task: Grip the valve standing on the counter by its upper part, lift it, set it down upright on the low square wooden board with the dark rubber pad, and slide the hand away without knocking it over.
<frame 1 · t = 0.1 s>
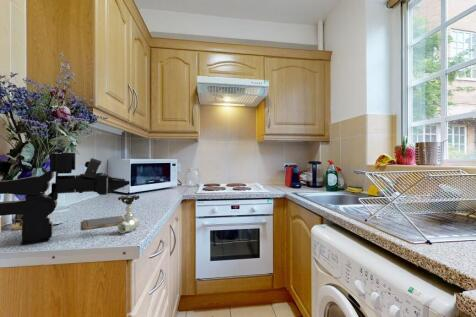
hand: (127, 181, 87), 17 cm above the countertop, tool horizontal, fingers open, 9 cm apart
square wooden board: (104, 222, 93), on the countertop
valve: (129, 232, 81), on the countertop
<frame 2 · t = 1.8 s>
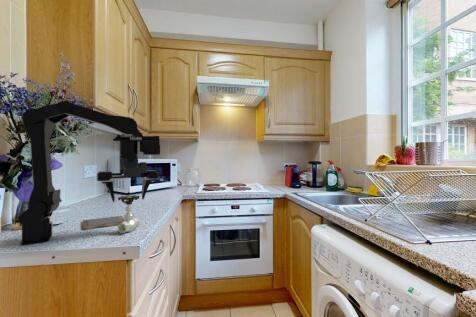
hand: (128, 200, 82), 11 cm above the countertop, tool pointing down, fingers open, 9 cm apart
nothing on the countertop moved.
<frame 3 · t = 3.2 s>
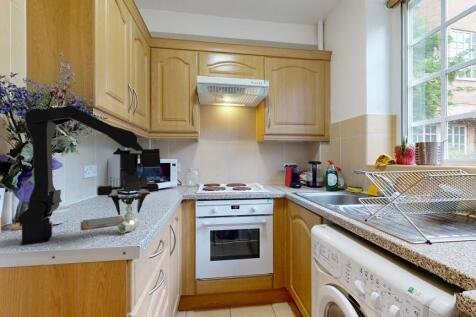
hand: (128, 213, 82), 6 cm above the countertop, tool pointing down, fingers closed on valve, 6 cm apart
valve: (129, 232, 81), on the countertop, touching gripper
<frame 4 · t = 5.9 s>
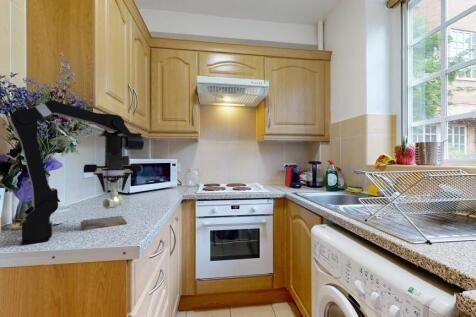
hand: (113, 191, 89), 13 cm above the countertop, tool pointing down, fingers closed on valve, 6 cm apart
valve: (113, 208, 88), point 7 cm above the countertop, touching gripper
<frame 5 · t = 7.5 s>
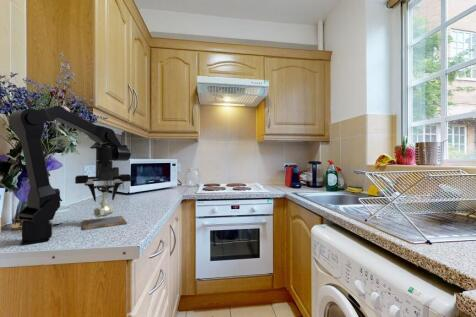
hand: (104, 200, 93), 9 cm above the countertop, tool pointing down, fingers closed on valve, 6 cm apart
valve: (104, 216, 93), point 2 cm above the countertop, touching gripper
when the fingers open (8 cm above the countertop, at t = 8.5 s): valve drops 1 cm, resting on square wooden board.
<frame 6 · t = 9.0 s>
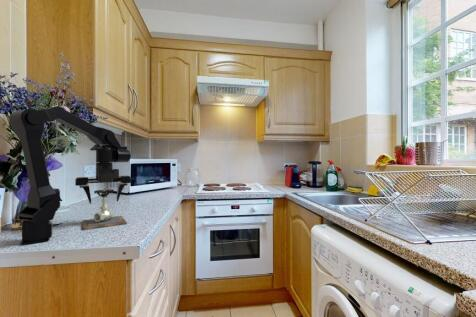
hand: (104, 202, 93), 8 cm above the countertop, tool pointing down, fingers open, 9 cm apart
valve: (104, 221, 93), point 1 cm above the countertop, touching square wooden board
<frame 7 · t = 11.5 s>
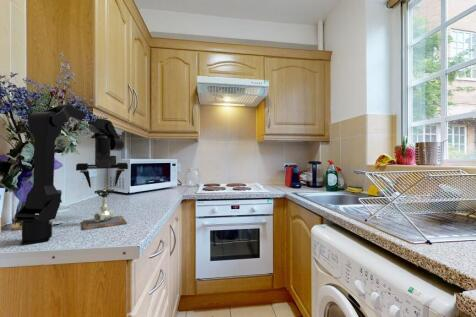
hand: (103, 186, 101), 13 cm above the countertop, tool pointing down, fingers open, 9 cm apart
nothing on the countertop moved.
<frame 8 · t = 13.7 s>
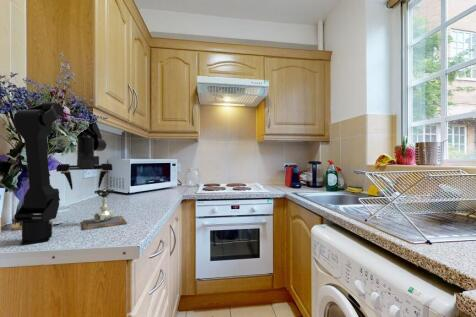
hand: (85, 188, 97), 13 cm above the countertop, tool pointing down, fingers open, 9 cm apart
nothing on the countertop moved.
at the end: valve inside the target area on the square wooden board (0.0 cm from its centre), point 0.5 cm above the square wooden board's base; valve tilted 0°; the gripper is holding nothing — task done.
